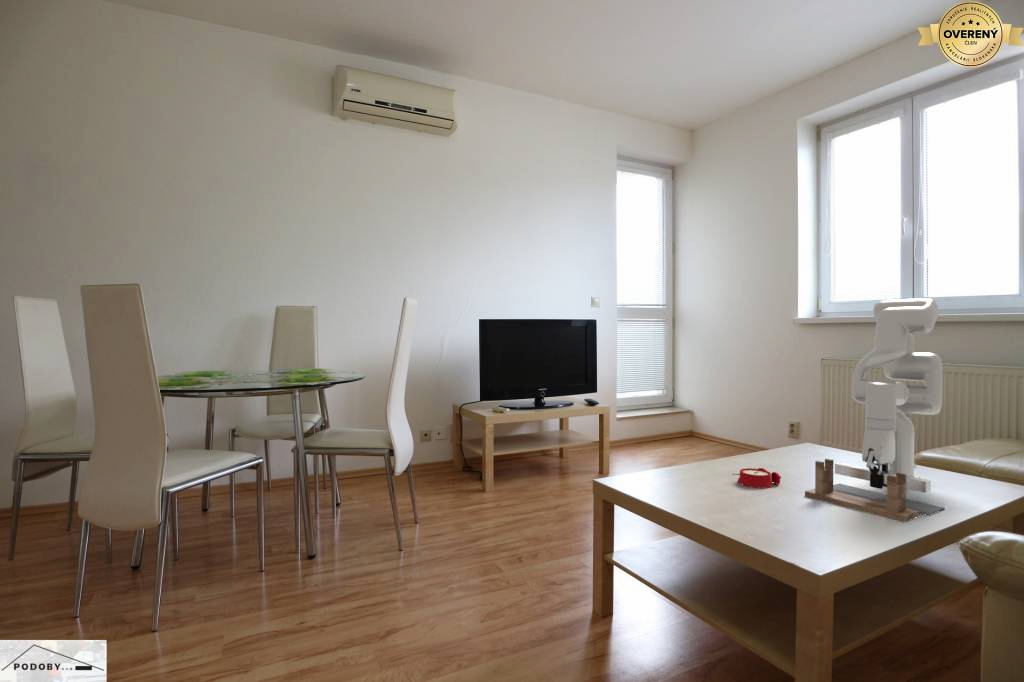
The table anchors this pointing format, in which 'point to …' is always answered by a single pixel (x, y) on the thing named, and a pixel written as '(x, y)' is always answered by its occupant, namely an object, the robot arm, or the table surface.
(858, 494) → the rubber mat
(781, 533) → the table surface
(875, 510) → the walnut rail stand
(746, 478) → the alarm clock
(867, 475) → the steel rail
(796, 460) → the table surface
